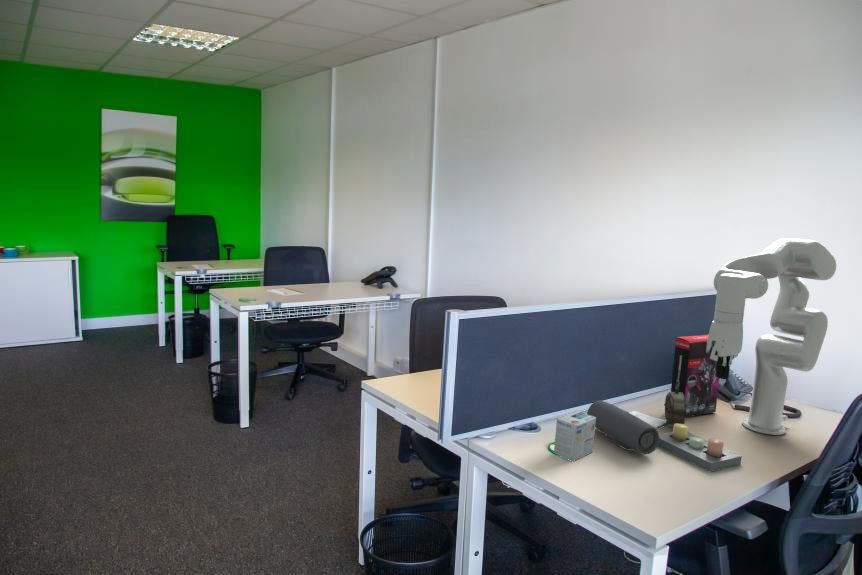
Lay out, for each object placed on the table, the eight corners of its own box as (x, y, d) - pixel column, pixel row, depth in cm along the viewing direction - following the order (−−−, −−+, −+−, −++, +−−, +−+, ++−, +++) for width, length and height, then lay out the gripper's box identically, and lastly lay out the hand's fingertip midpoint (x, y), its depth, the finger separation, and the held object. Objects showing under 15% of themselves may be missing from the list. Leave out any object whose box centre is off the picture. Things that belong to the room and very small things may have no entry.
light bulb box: (573, 444, 177) (576, 409, 175) (593, 452, 172) (597, 416, 170) (552, 454, 169) (555, 417, 168) (573, 462, 165) (576, 425, 163)
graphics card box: (681, 419, 204) (692, 341, 200) (665, 412, 210) (675, 336, 206) (716, 413, 212) (726, 338, 208) (699, 406, 218) (709, 333, 214)
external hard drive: (656, 431, 193) (621, 419, 202) (668, 426, 198) (633, 414, 207) (657, 426, 193) (622, 414, 202) (669, 421, 198) (634, 410, 207)
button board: (682, 437, 187) (683, 429, 187) (740, 464, 170) (741, 456, 170) (652, 443, 181) (653, 435, 181) (710, 471, 164) (711, 463, 164)
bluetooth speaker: (659, 457, 172) (663, 423, 170) (633, 460, 168) (637, 427, 167) (607, 427, 193) (610, 397, 191) (583, 430, 189) (586, 399, 187)
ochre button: (678, 435, 183) (680, 422, 183) (689, 440, 180) (691, 427, 179) (669, 436, 181) (670, 424, 181) (680, 442, 178) (681, 429, 177)
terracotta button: (712, 450, 173) (714, 437, 172) (725, 456, 169) (726, 443, 169) (703, 452, 171) (705, 439, 170) (715, 458, 167) (717, 445, 167)
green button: (694, 449, 178) (695, 436, 178) (705, 454, 175) (707, 441, 174) (684, 451, 176) (686, 438, 176) (696, 456, 173) (698, 443, 172)
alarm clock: (684, 435, 189) (690, 386, 187) (666, 433, 190) (672, 384, 188) (677, 423, 200) (683, 376, 197) (660, 420, 201) (665, 374, 198)
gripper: (734, 312, 179) (727, 370, 183) (699, 316, 172) (693, 377, 176) (757, 317, 173) (750, 378, 176) (722, 322, 166) (715, 385, 169)
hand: (721, 377), depth 176 cm, fingers closed
